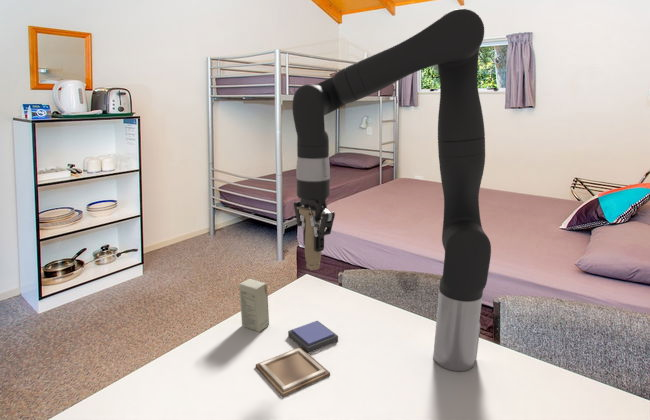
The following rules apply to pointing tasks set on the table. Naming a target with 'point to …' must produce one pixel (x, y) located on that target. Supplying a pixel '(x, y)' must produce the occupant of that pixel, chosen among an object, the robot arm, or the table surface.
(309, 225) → the handle
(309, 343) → the ink pad
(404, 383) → the table surface
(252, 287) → the skincare box
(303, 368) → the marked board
